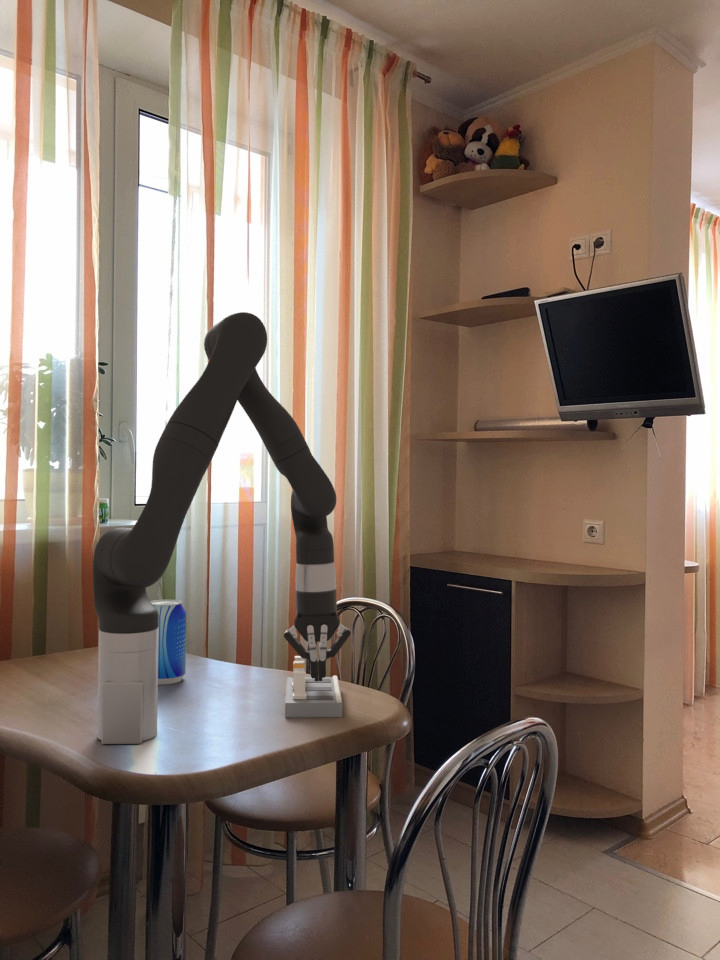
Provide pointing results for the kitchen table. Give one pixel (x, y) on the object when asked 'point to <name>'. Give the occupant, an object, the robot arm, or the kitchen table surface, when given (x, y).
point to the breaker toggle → (297, 668)
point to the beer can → (171, 641)
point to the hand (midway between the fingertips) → (318, 680)
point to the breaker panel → (312, 696)
